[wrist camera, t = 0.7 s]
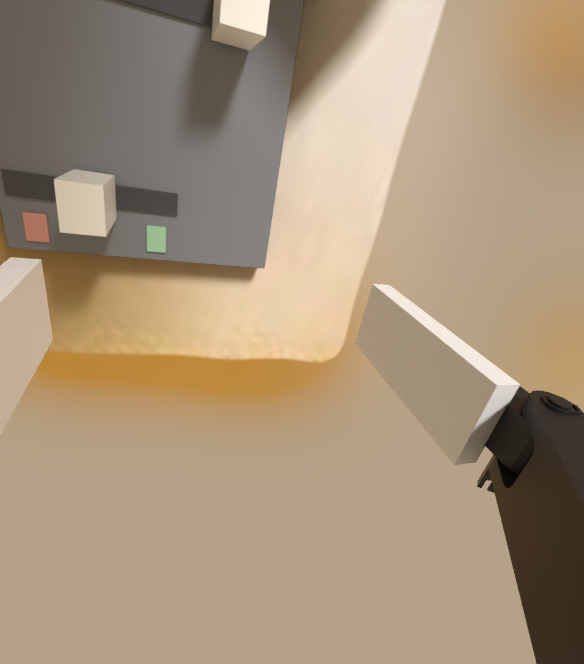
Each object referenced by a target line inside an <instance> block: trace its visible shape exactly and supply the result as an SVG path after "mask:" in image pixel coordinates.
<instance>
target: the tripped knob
mask: <svg viewBox="0 0 584 664" xmlns="http://www.w3.org/2000/svg"><path fill="white" fill-rule="evenodd" d="M54 187H55V195H56V204H57V212H58V221H59V229H60V232H61V233H72V234H82V235H92V236H103V237H106V236H107V234H108V233H109V231H110V229H111V227H112V226H113V224H114V222H115V221H116V219H117V216H116V194H115V175H111V174H104V173H97V172H90V171H84V170H77V169H73V170H71V171H69V172H67V173H65V174H63V175H61V176H59V177H57V178H55V179H54Z"/></svg>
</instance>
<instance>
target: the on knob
mask: <svg viewBox="0 0 584 664" xmlns="http://www.w3.org/2000/svg"><path fill="white" fill-rule="evenodd" d="M269 4H270V0H214V5H213V22H212V38H211V40H213V41H217V42H220V43H224V44H227V45H231V46H235V47H238V48H242V49H245V50H249V51H250V50H251V49H252V48H253V47H254V46H256V45H257V44H258V43H259V42H260V41H261V40H262V39H263V38H264V37H266V30H267V21H268V12H269Z"/></svg>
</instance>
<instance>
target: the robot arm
mask: <svg viewBox="0 0 584 664" xmlns="http://www.w3.org/2000/svg"><path fill="white" fill-rule="evenodd" d="M52 341H53V336H52V329H51V322H50V315H49V308H48V301H47V295H46V288H45V281H44V274H43V267H42V260H41V259H29V258H15V257H10V258H9V259H8V260H6V261H5V262H4V263H3V264H2V265H0V435H1V433H2V431H3V429H4V428H5V426H6V424H7V422H8V421H9V419H10V417H11V415H12V413H13V412H14V410H15V408H16V406H17V404H18V402H19V400H20V399H21V397H22V395H23V393H24V391H25V390H26V388H27V386H28V384H29V382H30V381H31V379H32V377H33V375H34V373H35V371H36V370H37V368H38V366H39V364H40V363H41V361H42V359H43V357H44V355H45V353H46V352H47V350H48V348H49V346H50V344H51V343H52ZM355 344H356V345H357V346H358V348H359V349H360V350H361V351H362V353H363V354H364V355H365V356H366V357H367V359H368V360H369V361H370V362H371V363H372V365H373V366H374V367H375V368H376V370H377V371H378V372H379V373H380V374H381V376H382V377H383V378H384V379H385V381H386V382H387V383H388V384H389V385H390V387H391V388H392V389H393V390H394V391H395V393H396V394H397V395H398V396H399V398H400V399H401V400H402V401H403V403H404V404H405V405H406V406H407V408H408V409H409V410H410V411H411V412H412V414H413V415H414V416H415V417H416V419H417V420H418V421H419V422H420V423H421V425H423V427H424V428H425V429H426V431H427V432H428V433H429V434H430V436H431V437H432V438H433V439H434V441H435V442H436V443H437V444H438V445H439V447H440V448H441V449H442V450H443V452H444V453H445V454H446V455H447V456H448V458H449V459H450V460H451V461H452V463H453V464H454V465H458V464H466V463H474V462H476V461H477V459H478V458H479V456H480V454H481V452H482V451H483V449H484V447H485V446H486V447H487V448H488V449H489V450H490V451H491V452H492V453H493V454H494V455H493V457H492V458H491V460H490V462H489V463H488V465H487V466H486V468H485V470H484V471H483V473H482V475H481V477H480V478H479V480H478V484H477V486H478V487H480V488H482V486H483V485H484V483H485V481H486V480H492V482H491V484H490V486H489V487H488V489H487V490H488V491H491V492H494V493H495V496H496V500H497V504H498V508H499V512H500V517H501V520H502V525H503V529H504V533H505V536H506V541H507V545H508V549H509V553H510V557H511V561H512V565H513V569H514V573H515V577H516V582H517V585H518V590H519V594H520V597H521V602H522V606H523V609H524V614H525V618H526V622H527V626H528V630H529V634H530V639H531V643H532V647H533V651H534V655H535V658H536V663H537V664H584V413H583V412H582V411H581V410H580V408H579V407H578V406H576V405H575V404H572V403H571V402H569V401H567V400H566V399H564V398H562V397H560V396H557V395H554V394H552V393H549V392H544V391H533V392H531V393H528V392H527V391H526V390H524V389H523V388H522V387H520V384H519V383H517V382H516V381H515V380H514V379H512V378H511V377H509V376H508V375H507V374H506V373H504V372H503V371H501V370H500V369H499V368H498V367H496V366H495V365H494V364H492V363H491V362H490V361H488V360H487V359H486V358H484V357H483V356H482V355H481V354H479V353H478V352H477V351H475V350H474V349H473V348H471V347H470V346H469V345H467V344H466V343H465V342H463V341H462V340H461V339H460V338H458V337H457V336H456V335H454V334H453V333H452V332H450V331H449V330H448V329H446V328H445V327H444V326H442V325H441V324H440V323H438V322H437V321H436V320H434V319H433V318H432V317H431V316H429V315H427V313H425V312H424V311H423V310H421V309H420V308H419V307H417V306H416V305H414V304H413V303H412V302H411V301H409V300H408V299H407V298H405V297H404V296H403V295H401V294H400V293H399V292H398V291H396V290H395V289H394V288H392V287H391V286H390V285H380V284H373V285H372V288H371V292H370V295H369V298H368V302H367V305H366V309H365V312H364V315H363V318H362V322H361V325H360V329H359V332H358V335H357V339H356V342H355Z"/></svg>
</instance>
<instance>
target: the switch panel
mask: <svg viewBox="0 0 584 664" xmlns="http://www.w3.org/2000/svg"><path fill="white" fill-rule="evenodd" d="M213 5H214V0H0V209H1V214H2V219H3V225H4V230H5V235H6V241H7V246H8V248H20V249H32V250H45V251H57V252H69V253H81V254H94V255H106V256H118V257H130V258H143V259H155V260H167V261H179V262H192V263H204V264H216V265H228V266H241V267H253V268H264V267H265V261H266V254H267V247H268V241H269V234H270V227H271V220H272V214H273V207H274V200H275V193H276V187H277V180H278V173H279V167H280V160H281V153H282V146H283V140H284V133H285V126H286V119H287V113H288V106H289V99H290V93H291V86H292V79H293V72H294V66H295V59H296V52H297V45H298V39H299V32H300V25H301V19H302V12H303V5H304V0H270V4H269V12H268V21H267V30H266V37H264V38H263V39H262V40H261V41H260V42H259V43H258V44H257V45H256V46H254V47H253V48H252V49H251V50H250V51H249V50H245V49H242V48H238V47H235V46H231V45H227V44H224V43H220V42H217V41H213V40H211V38H212V22H213ZM73 169H77V170H84V171H90V172H97V173H104V174H111V175H115V194H116V216H117V219H116V221H115V222H114V224H113V226H112V227H111V229H110V231H109V233H108V234H107V236H106V237H103V236H92V235H82V234H72V233H61V232H60V229H59V221H58V212H57V204H56V195H55V187H54V179H55V178H57V177H59V176H61V175H63V174H65V173H67V172H69V171H71V170H73Z"/></svg>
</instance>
